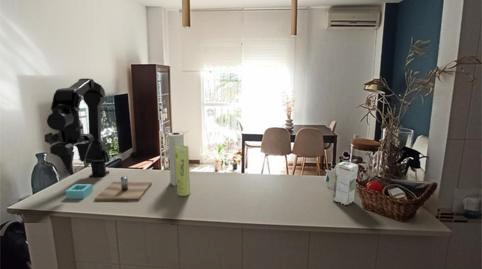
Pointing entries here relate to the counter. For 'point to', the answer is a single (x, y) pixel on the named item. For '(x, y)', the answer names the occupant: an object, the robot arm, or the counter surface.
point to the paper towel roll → (174, 139)
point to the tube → (182, 170)
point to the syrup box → (345, 182)
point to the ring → (79, 191)
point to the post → (124, 183)
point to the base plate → (124, 192)
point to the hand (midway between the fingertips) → (76, 165)
